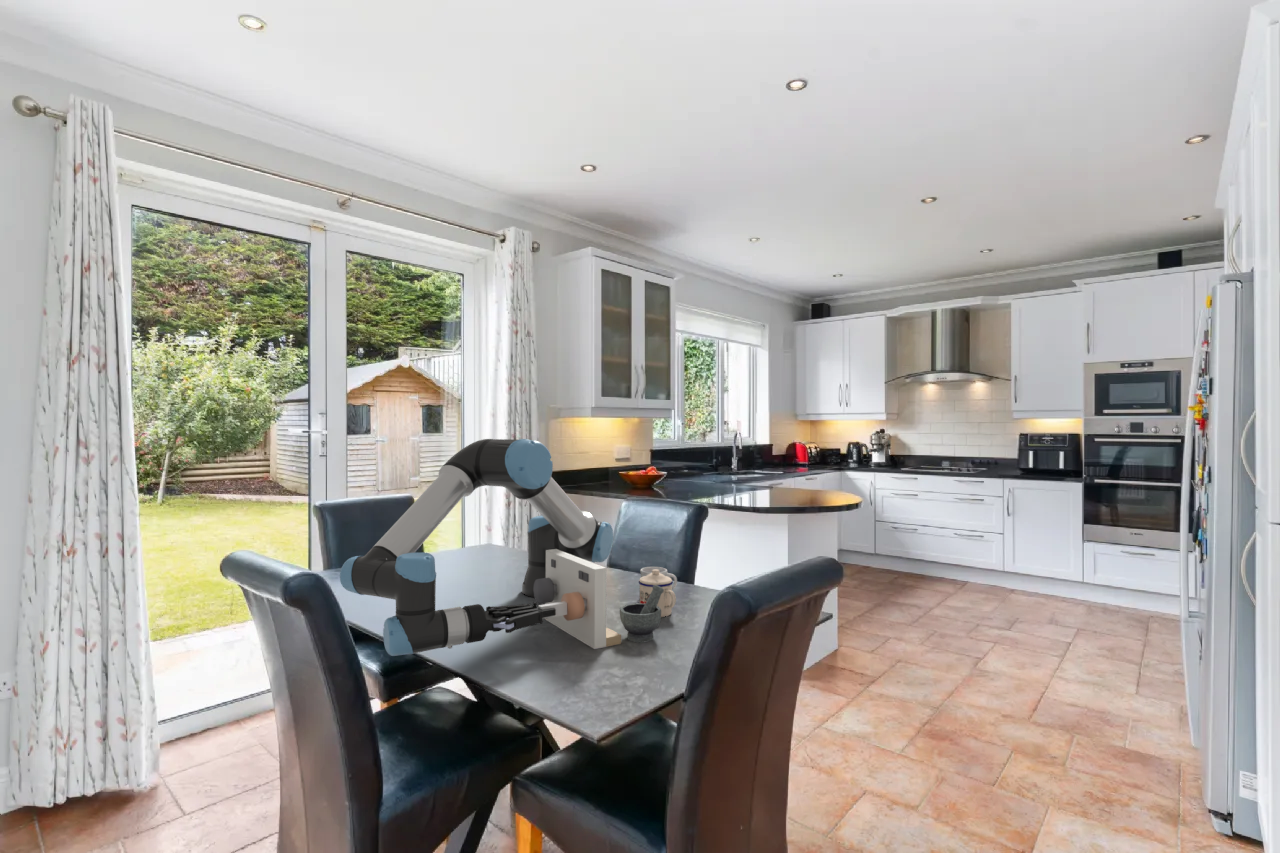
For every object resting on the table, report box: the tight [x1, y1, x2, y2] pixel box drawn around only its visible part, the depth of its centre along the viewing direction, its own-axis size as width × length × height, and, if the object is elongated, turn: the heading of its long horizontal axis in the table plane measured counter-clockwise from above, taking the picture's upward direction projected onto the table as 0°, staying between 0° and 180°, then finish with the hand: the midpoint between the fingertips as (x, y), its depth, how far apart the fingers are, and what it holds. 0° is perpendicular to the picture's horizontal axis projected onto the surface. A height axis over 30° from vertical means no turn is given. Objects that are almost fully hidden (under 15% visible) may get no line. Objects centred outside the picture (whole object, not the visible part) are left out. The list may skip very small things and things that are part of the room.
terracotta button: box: [561, 592, 587, 621], centre depth 152 cm, size 10×6×6 cm, turn 123°
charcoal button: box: [533, 578, 557, 605], centre depth 166 cm, size 10×6×6 cm, turn 123°
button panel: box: [545, 549, 622, 650], centre depth 161 cm, size 7×26×18 cm, turn 33°
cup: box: [639, 566, 678, 591], centre depth 192 cm, size 11×8×8 cm
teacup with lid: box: [638, 569, 677, 618], centre depth 175 cm, size 12×9×12 cm
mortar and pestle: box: [619, 585, 664, 643], centre depth 156 cm, size 11×9×12 cm
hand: (565, 607), depth 149 cm, fingers closed
